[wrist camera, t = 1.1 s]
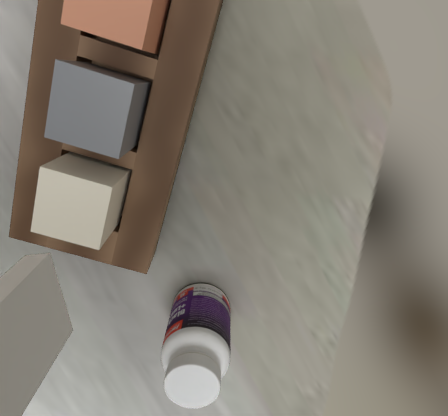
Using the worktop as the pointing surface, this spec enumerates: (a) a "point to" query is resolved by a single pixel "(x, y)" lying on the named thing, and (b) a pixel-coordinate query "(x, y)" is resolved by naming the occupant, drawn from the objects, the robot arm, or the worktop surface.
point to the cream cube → (79, 199)
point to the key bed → (150, 129)
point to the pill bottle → (196, 346)
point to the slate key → (95, 108)
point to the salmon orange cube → (119, 20)
